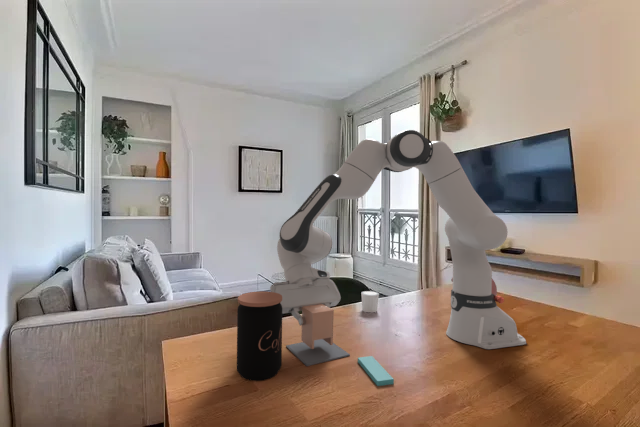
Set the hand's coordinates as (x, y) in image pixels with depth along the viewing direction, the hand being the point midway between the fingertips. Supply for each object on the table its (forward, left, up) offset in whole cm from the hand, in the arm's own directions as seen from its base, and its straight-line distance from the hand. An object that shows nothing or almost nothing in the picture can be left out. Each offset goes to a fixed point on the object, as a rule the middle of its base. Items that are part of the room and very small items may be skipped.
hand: (315, 322), depth 92 cm
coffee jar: (+15, +11, -8) cm, 20 cm away
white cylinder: (-24, -34, -8) cm, 43 cm away
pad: (0, +1, -8) cm, 8 cm away
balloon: (-68, -38, -8) cm, 79 cm away
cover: (0, +1, -5) cm, 6 cm away
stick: (-13, +13, -8) cm, 21 cm away
